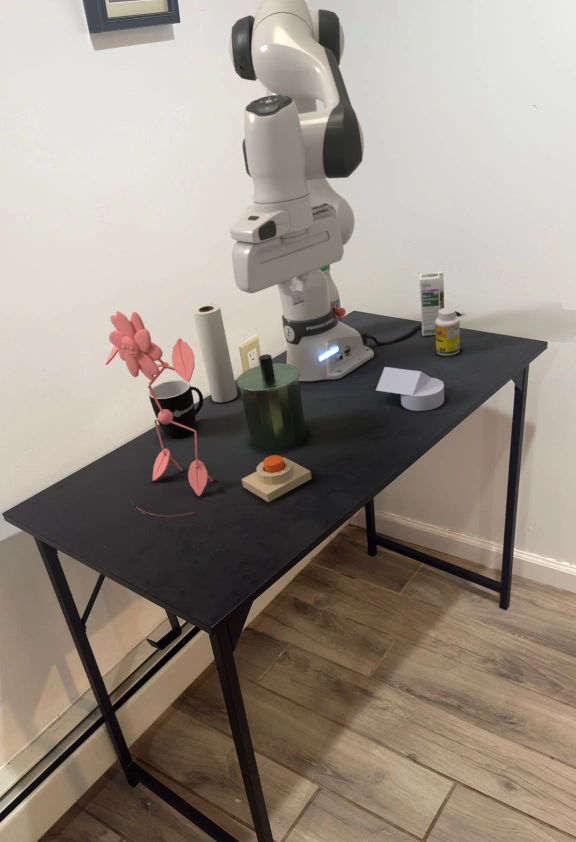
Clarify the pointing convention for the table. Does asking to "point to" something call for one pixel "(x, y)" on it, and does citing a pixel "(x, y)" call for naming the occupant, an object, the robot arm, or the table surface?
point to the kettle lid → (268, 376)
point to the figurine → (141, 355)
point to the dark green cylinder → (275, 418)
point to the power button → (273, 464)
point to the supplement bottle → (447, 332)
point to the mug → (176, 406)
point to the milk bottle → (332, 290)
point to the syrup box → (431, 300)
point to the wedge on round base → (413, 388)
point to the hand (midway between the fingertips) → (296, 303)
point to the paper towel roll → (215, 352)
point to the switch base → (276, 480)
